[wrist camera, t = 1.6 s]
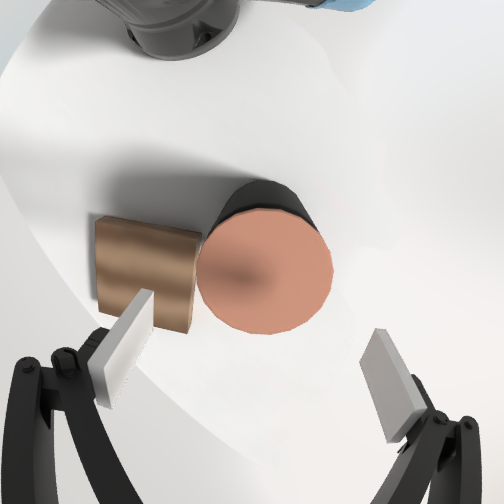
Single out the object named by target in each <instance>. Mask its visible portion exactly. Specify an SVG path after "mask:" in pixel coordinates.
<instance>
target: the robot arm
mask: <svg viewBox="0 0 504 504" xmlns="http://www.w3.org/2000/svg"><path fill="white" fill-rule="evenodd" d="M96 1H97V2H99V3H100V4H102V5H103V6H105V7H106V8H108V9H109V10H111V11H112V12H114V13H115V14H116V15H118V16H119V17H121V18H122V19H124V21H125V25H126V28H127V32H128V34H129V36H130V38H131V40H132V41H133V43H134V44H135V45H136V46H137V47H138V48H139V49H141V50H142V51H144V52H145V53H147V54H148V55H150V56H152V57H155V58H158V59H162V60H171V61H175V60H184V59H189V58H193V57H196V56H199V55H201V54H204V53H206V52H208V51H209V50H211V49H213V48H214V47H216V46H217V45H219V44H220V43H221V42H222V41H223V40H224V39H225V38H226V37H227V36H228V35H229V34H230V32H231V31H232V29H233V28H234V26H235V24H236V21H237V19H238V15H239V2H238V0H96ZM254 1H270V2H281V3H290V4H298V5H305V6H306V7H307V8H311V9H317V8H325V9H332V10H338V11H344V12H353V11H356V10H360V9H363V8H365V7H367V6H368V5H370V4H371V3H373V2H374V1H375V0H254ZM153 306H154V291H152V290H147V289H143V288H141V290H140V291H139V292H138V293H137V295H136V296H135V297H134V299H133V300H132V301H131V303H130V304H129V305H128V307H127V308H126V309H125V311H124V312H123V313H122V315H121V316H120V317H119V319H118V320H117V321H116V323H115V324H114V326H113V327H112V328H111V330H109V329H106V328H102V327H100V328H98V329H97V330H95V331H93V332H92V333H91V335H90V336H89V337H88V339H87V340H86V341H85V342H84V344H83V345H82V346H81V348H80V349H79V350H78V352H77V351H76V350H74V349H72V348H69V347H63V348H60V349H57V350H56V351H54V352H53V354H52V355H51V362H52V365H53V368H49V367H41V365H40V363H39V361H38V360H37V359H35V358H34V357H24V358H21V359H20V360H19V361H18V362H17V363H16V365H15V368H14V373H13V378H12V383H11V388H10V393H9V398H8V404H7V411H6V418H5V426H4V435H3V446H2V464H1V496H2V497H1V498H2V504H59V503H58V495H57V487H56V475H55V459H54V410H59V411H64V412H65V415H66V419H67V422H68V425H69V428H70V431H71V435H72V438H73V441H74V444H75V446H76V449H77V452H78V455H79V457H80V460H81V462H82V465H83V468H84V470H85V472H86V475H87V477H88V480H89V482H90V484H91V486H92V489H93V491H94V493H95V495H96V497H97V499H98V501H99V503H100V504H143V502H142V501H141V499H140V497H139V496H138V494H137V492H136V491H135V489H134V487H133V485H132V484H131V482H130V480H129V478H128V476H127V474H126V472H125V471H124V469H123V467H122V465H121V463H120V461H119V459H118V457H117V455H116V453H115V451H114V449H113V446H112V444H111V442H110V440H109V437H108V435H107V433H106V431H105V428H104V426H103V424H102V421H101V419H100V416H99V414H98V412H97V409H96V406H95V404H94V399H95V397H96V401H97V404H98V405H101V406H103V407H106V408H109V409H113V407H114V405H115V403H116V401H117V399H118V397H119V395H120V393H121V391H122V389H123V386H124V384H125V383H126V381H127V379H128V377H129V375H130V373H131V371H132V369H133V367H134V365H135V363H136V361H137V359H138V358H139V356H140V354H141V352H142V350H143V348H144V346H145V344H146V342H147V340H148V339H149V337H150V335H151V333H152V331H153ZM360 366H361V369H362V371H363V374H364V377H365V379H366V382H367V385H368V388H369V390H370V393H371V396H372V399H373V402H374V405H375V408H376V411H377V413H378V417H379V420H380V423H381V425H382V428H383V431H384V435H385V438H386V441H387V443H398V442H400V441H401V440H402V439H403V438H404V437H405V435H406V438H407V440H408V441H407V442H406V443H405V444H404V445H403V446H402V447H401V449H400V450H399V451H398V452H397V453H399V452H400V451H401V452H400V454H399V456H398V457H397V459H396V461H395V463H394V465H393V467H392V469H391V470H390V472H389V474H388V476H387V477H386V479H385V481H384V483H383V484H382V486H381V488H380V489H379V491H378V493H377V494H376V496H375V497H374V499H373V500H372V502H371V503H370V504H420V503H421V501H422V499H423V497H424V495H425V492H426V490H427V488H428V485H429V483H430V480H431V484H430V491H429V497H428V503H427V504H481V497H482V466H481V448H480V435H479V426H478V423H477V422H476V420H475V419H474V418H472V417H470V416H464V417H462V419H461V420H460V421H459V422H456V421H450V420H449V418H448V417H447V415H446V414H445V413H443V412H441V411H438V410H435V408H434V406H433V404H432V402H431V400H430V398H429V396H428V394H427V393H426V391H425V389H424V387H423V385H422V383H421V381H420V380H419V379H418V378H417V377H416V376H415V375H414V374H410V373H409V371H408V369H407V367H406V365H405V363H404V361H403V359H402V358H401V356H400V354H399V352H398V350H397V349H396V347H395V345H394V343H393V341H392V339H391V338H390V336H389V334H388V332H387V331H386V330H385V329H377V328H375V330H374V332H373V335H372V337H371V339H370V341H369V343H368V345H367V348H366V350H365V352H364V354H363V356H362V358H361V360H360Z"/></svg>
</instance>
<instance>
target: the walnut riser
mask: <svg viewBox="0 0 504 504" xmlns="http://www.w3.org/2000/svg"><path fill="white" fill-rule="evenodd" d="M200 240H201V233H198V232H192V231H187V230H181V229H176V228H170V227H165V226H159V225H153V224H148V223H142V222H136V221H131V220H125V219H119V218H114V217H108V216H104V217H102V218H101V219H99V220H97V221H95V257H96V281H97V295H98V307H99V312H102V313H105V314H109V315H112V316H116V317H120V316H121V315H122V313H123V312H124V311H125V309H126V308H127V307H128V305H129V304H130V303H131V301H132V300H133V299H134V297H135V296H136V295H137V293H138V292H139V291H140V290H141V288H143V289H147V290H152V291H154V306H153V326H154V327H158V328H163V329H167V330H171V331H176V332H180V333H185V334H187V333H188V330H189V328H190V325H191V320H192V310H193V300H194V291H195V282H196V263H197V260H198V256H199V248H200Z"/></svg>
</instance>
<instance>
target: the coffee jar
mask: <svg viewBox="0 0 504 504" xmlns="http://www.w3.org/2000/svg"><path fill="white" fill-rule="evenodd" d="M333 272H334V270H333V265H332V259H331V254H330V251H329V249H328V247H327V245H326V244H325V242H324V240H323V238H322V236H321V235H320V233H319V231H318V230H317V228H316V226H315V225H314V223H313V221H312V220H311V218H310V216H309V215H308V213H307V211H306V210H305V208H304V206H303V205H302V203H301V202H300V200H299V198H298V197H297V195H296V194H295V193H294V192H292V191H291V190H290V189H289V188H288V187H286V186H284V185H282V184H279V183H277V182H274V181H261V180H260V181H256V182H252V183H248V184H246V185H244V186H243V187H241V188H240V189H238V190H237V191H236V192H235V193H234V194H233V195H232V197H231V198H230V199H229V200H228V202H227V203H226V205H225V207H224V208H223V210H222V212H221V213H220V215H219V217H218V218H217V220H216V222H215V224H214V225H213V227H212V229H211V230H210V232H209V234H208V237H207V239H206V241H205V242H204V243H203V245H202V247H201V251H200V254H199V257H198V260H197V263H196V275H197V285H198V288H199V291H200V293H201V296H202V298H203V301H204V303H205V304H206V305H207V306H208V308H209V309H210V310H211V311H212V312H213V314H214V315H215V316H216V317H217V318H219V319H220V320H222V321H223V322H225V323H226V324H228V325H229V326H231V327H232V328H235V329H238V330H241V331H244V332H247V333H250V334H267V335H271V334H276V333H281V332H285V331H290V330H292V329H294V328H296V327H298V326H299V325H301V324H303V323H305V322H307V321H308V320H309V319H310V318H311V317H312V316H313V315H314V314H315V313H316V312H318V311H319V310H320V309H321V307H322V305H323V304H324V302H325V300H326V298H327V296H328V294H329V293H330V290H331V284H332V278H333Z"/></svg>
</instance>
